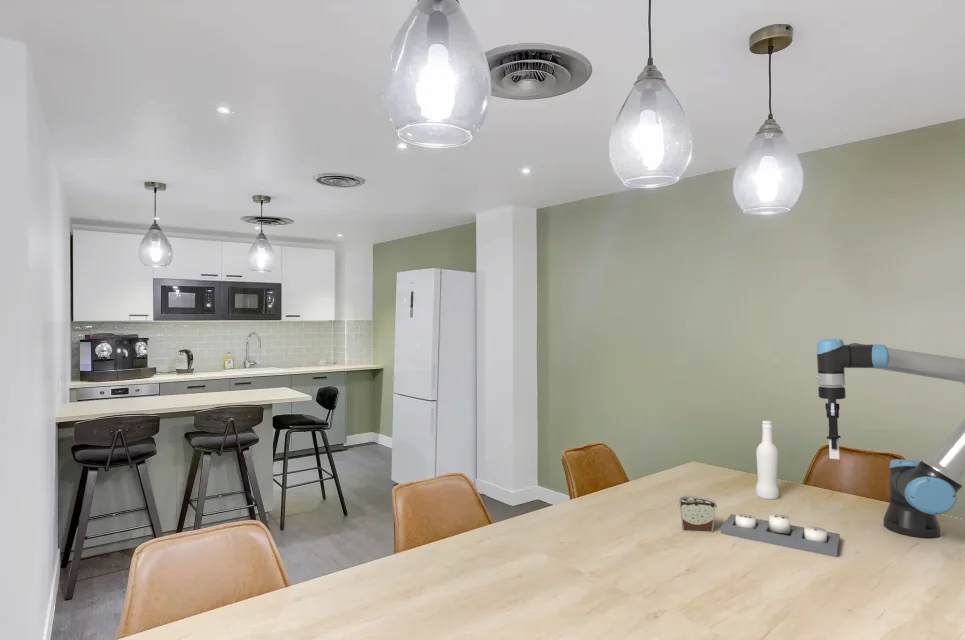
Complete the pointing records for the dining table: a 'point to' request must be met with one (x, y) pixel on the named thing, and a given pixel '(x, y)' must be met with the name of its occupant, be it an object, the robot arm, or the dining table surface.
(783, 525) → the two dot button
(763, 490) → the bottle
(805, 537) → the one dot button
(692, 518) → the food container
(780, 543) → the button board
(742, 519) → the three dot button
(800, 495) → the dining table surface
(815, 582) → the dining table surface
